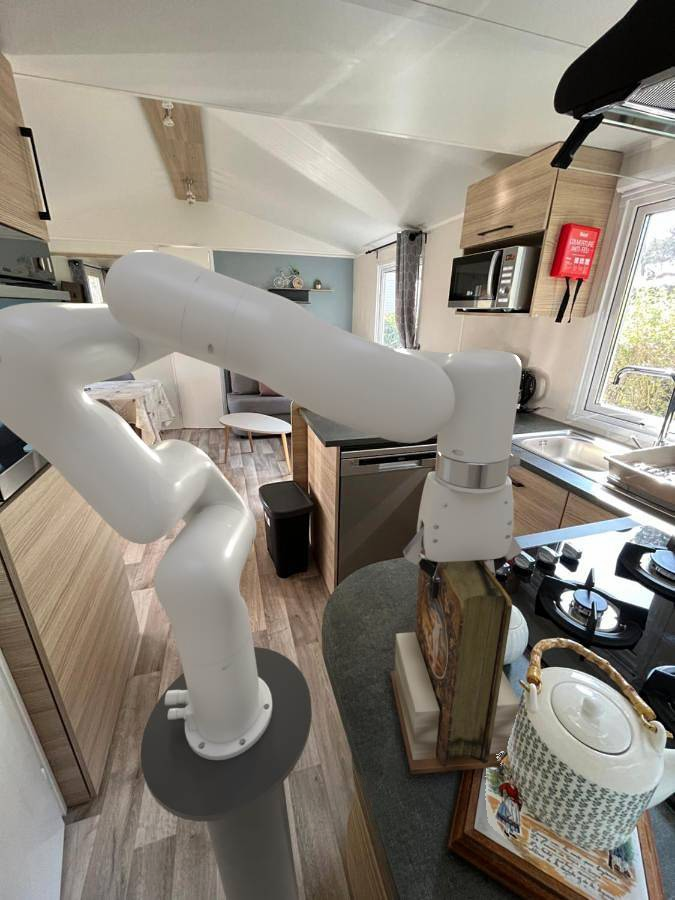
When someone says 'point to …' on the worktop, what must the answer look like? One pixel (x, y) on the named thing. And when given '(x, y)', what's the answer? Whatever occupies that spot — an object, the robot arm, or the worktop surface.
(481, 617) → the book
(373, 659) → the worktop surface
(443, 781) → the worktop surface
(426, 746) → the book rack
